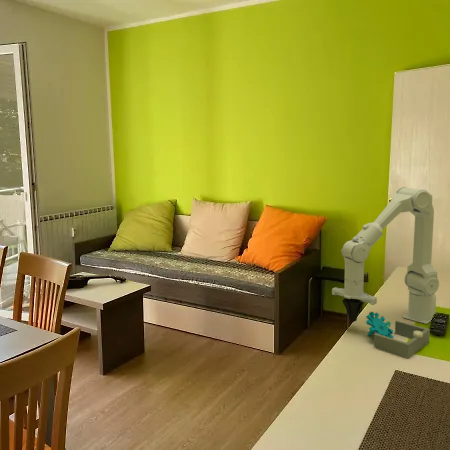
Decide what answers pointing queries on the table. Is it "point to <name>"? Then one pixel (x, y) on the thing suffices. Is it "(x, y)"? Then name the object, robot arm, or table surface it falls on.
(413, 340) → the housing
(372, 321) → the gear
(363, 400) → the table surface
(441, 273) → the table surface
